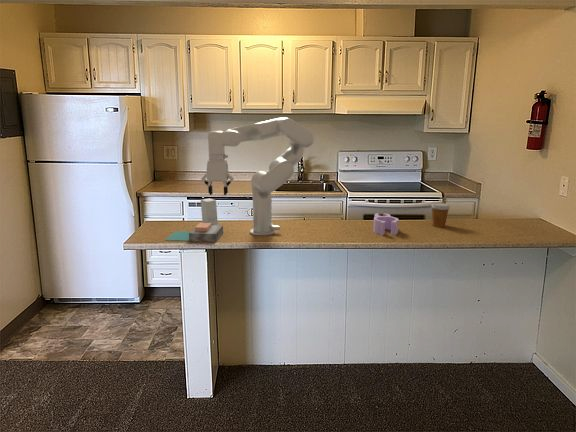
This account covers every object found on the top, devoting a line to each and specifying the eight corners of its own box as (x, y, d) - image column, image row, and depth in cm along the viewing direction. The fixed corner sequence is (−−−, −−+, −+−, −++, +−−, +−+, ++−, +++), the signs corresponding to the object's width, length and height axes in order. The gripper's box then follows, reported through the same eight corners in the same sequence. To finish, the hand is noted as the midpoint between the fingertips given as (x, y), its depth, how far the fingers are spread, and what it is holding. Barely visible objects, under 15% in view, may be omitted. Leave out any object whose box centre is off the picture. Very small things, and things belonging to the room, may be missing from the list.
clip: (369, 225, 245) (369, 213, 244) (391, 225, 246) (392, 213, 244) (376, 235, 226) (377, 222, 224) (401, 235, 226) (401, 222, 224)
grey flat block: (223, 232, 230) (223, 225, 229) (216, 241, 215) (215, 233, 214) (198, 232, 231) (198, 224, 230) (189, 241, 215) (188, 233, 215)
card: (211, 226, 226) (211, 222, 226) (207, 231, 217) (207, 227, 217) (200, 226, 227) (199, 222, 226) (195, 231, 218) (194, 227, 217)
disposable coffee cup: (451, 226, 242) (453, 205, 239) (437, 228, 239) (439, 206, 236) (440, 222, 251) (441, 201, 248) (426, 224, 247) (427, 203, 245)
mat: (197, 232, 231) (197, 231, 231) (188, 241, 216) (188, 240, 215) (175, 231, 232) (175, 231, 232) (164, 240, 216) (164, 240, 216)
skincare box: (218, 227, 241) (217, 200, 237) (207, 229, 237) (206, 201, 234) (211, 224, 247) (210, 197, 244) (201, 225, 244) (200, 198, 241)
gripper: (236, 156, 216) (237, 193, 220) (201, 156, 217) (202, 192, 222) (233, 158, 209) (234, 196, 213) (196, 158, 210) (198, 195, 214)
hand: (218, 194), depth 217 cm, fingers open, 6 cm apart
